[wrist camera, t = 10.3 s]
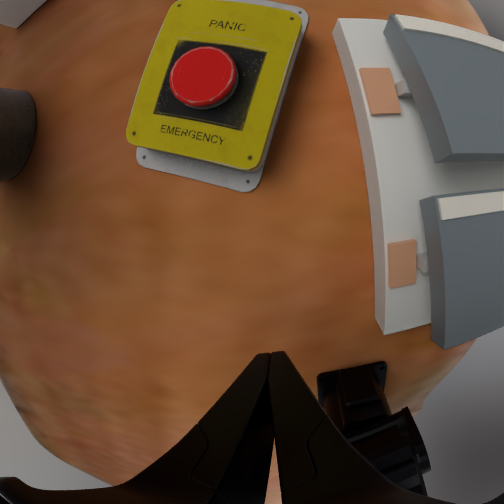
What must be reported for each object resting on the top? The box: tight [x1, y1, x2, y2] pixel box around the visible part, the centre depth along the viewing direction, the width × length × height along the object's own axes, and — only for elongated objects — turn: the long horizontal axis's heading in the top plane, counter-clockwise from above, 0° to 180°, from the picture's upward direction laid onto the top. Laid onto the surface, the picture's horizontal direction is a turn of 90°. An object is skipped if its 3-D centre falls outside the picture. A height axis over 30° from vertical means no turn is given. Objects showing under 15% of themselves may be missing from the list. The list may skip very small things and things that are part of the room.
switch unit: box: [332, 18, 504, 335], centre depth 15 cm, size 22×15×4 cm
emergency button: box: [126, 0, 308, 192], centre depth 15 cm, size 9×4×15 cm
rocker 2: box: [419, 188, 504, 350], centre depth 13 cm, size 9×12×2 cm
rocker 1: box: [383, 14, 504, 163], centre depth 10 cm, size 9×12×2 cm
